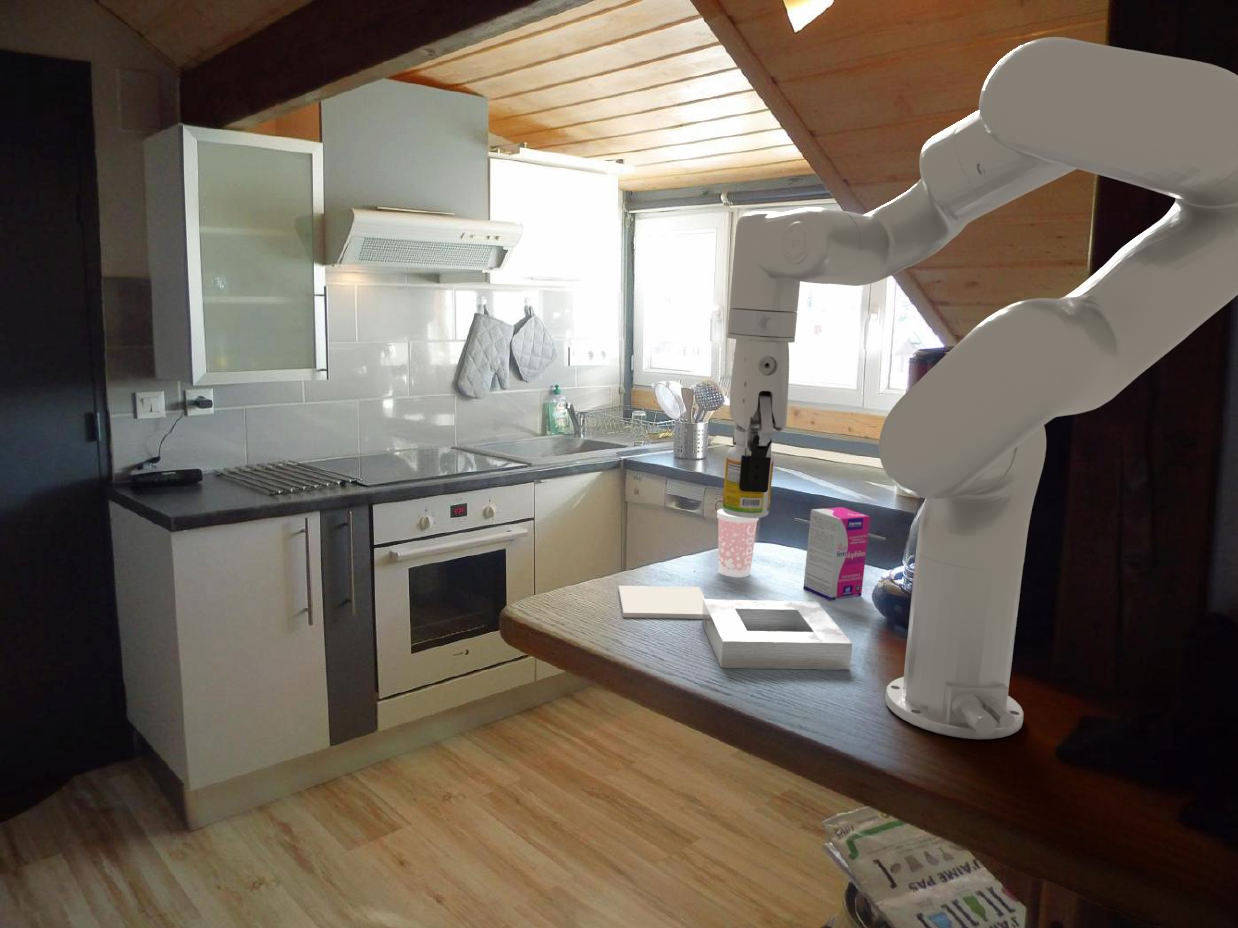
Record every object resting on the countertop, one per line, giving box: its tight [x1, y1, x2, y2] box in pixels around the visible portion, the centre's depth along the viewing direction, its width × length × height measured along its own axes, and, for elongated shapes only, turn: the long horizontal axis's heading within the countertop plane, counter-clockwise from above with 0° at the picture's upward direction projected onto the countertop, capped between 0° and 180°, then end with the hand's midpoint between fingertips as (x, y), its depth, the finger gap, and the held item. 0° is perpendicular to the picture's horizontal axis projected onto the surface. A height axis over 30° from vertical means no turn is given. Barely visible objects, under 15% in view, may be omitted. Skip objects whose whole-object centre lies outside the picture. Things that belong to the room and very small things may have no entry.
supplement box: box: [802, 506, 871, 601], centre depth 124 cm, size 6×6×12 cm
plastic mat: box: [618, 585, 706, 620], centre depth 118 cm, size 11×11×1 cm
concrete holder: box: [701, 598, 853, 671], centre depth 104 cm, size 14×14×3 cm
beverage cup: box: [716, 508, 760, 578], centre depth 132 cm, size 6×6×14 cm
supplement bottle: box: [722, 428, 775, 518], centre depth 105 cm, size 5×5×10 cm
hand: (747, 483), depth 105 cm, fingers closed on supplement bottle, 5 cm apart
